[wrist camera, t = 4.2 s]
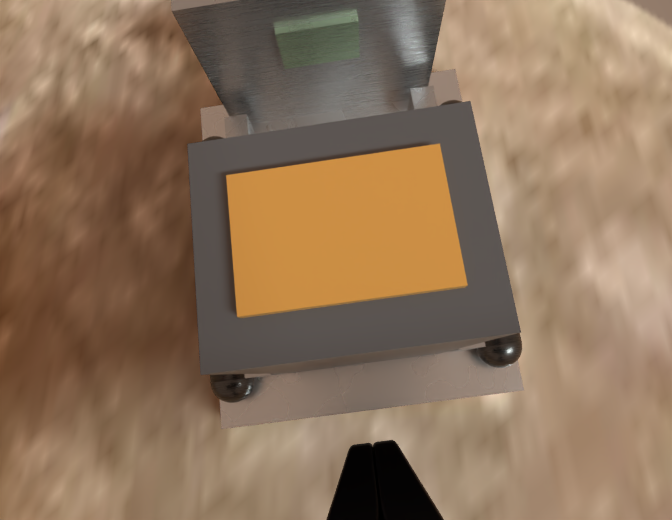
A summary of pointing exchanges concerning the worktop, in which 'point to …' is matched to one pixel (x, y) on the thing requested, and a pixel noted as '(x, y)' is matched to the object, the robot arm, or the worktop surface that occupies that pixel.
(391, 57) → the grey handled base plate
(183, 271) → the worktop surface
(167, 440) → the worktop surface
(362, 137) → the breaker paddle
